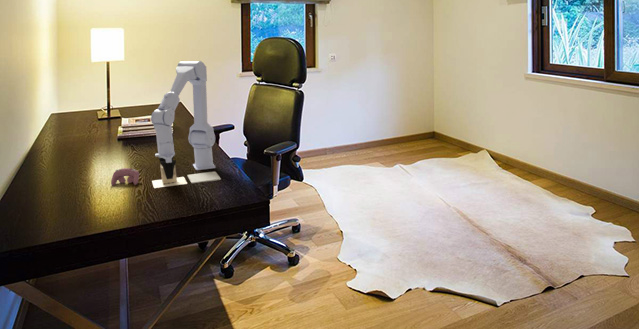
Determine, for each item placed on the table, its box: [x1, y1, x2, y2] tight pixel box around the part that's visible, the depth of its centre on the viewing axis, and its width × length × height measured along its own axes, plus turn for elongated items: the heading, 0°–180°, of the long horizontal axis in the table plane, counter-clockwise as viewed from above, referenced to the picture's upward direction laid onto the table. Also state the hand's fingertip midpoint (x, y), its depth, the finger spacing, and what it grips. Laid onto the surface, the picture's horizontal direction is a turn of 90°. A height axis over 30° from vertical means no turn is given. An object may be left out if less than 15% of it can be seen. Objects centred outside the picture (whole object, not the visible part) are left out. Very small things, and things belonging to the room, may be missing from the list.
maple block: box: [159, 164, 178, 183], centre depth 190 cm, size 5×5×6 cm
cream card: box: [151, 176, 188, 189], centre depth 191 cm, size 10×12×1 cm
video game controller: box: [110, 167, 140, 187], centre depth 190 cm, size 10×5×7 cm, turn 92°
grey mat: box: [186, 171, 222, 184], centre depth 195 cm, size 11×11×1 cm
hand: (168, 176), depth 190 cm, fingers closed on maple block, 5 cm apart
